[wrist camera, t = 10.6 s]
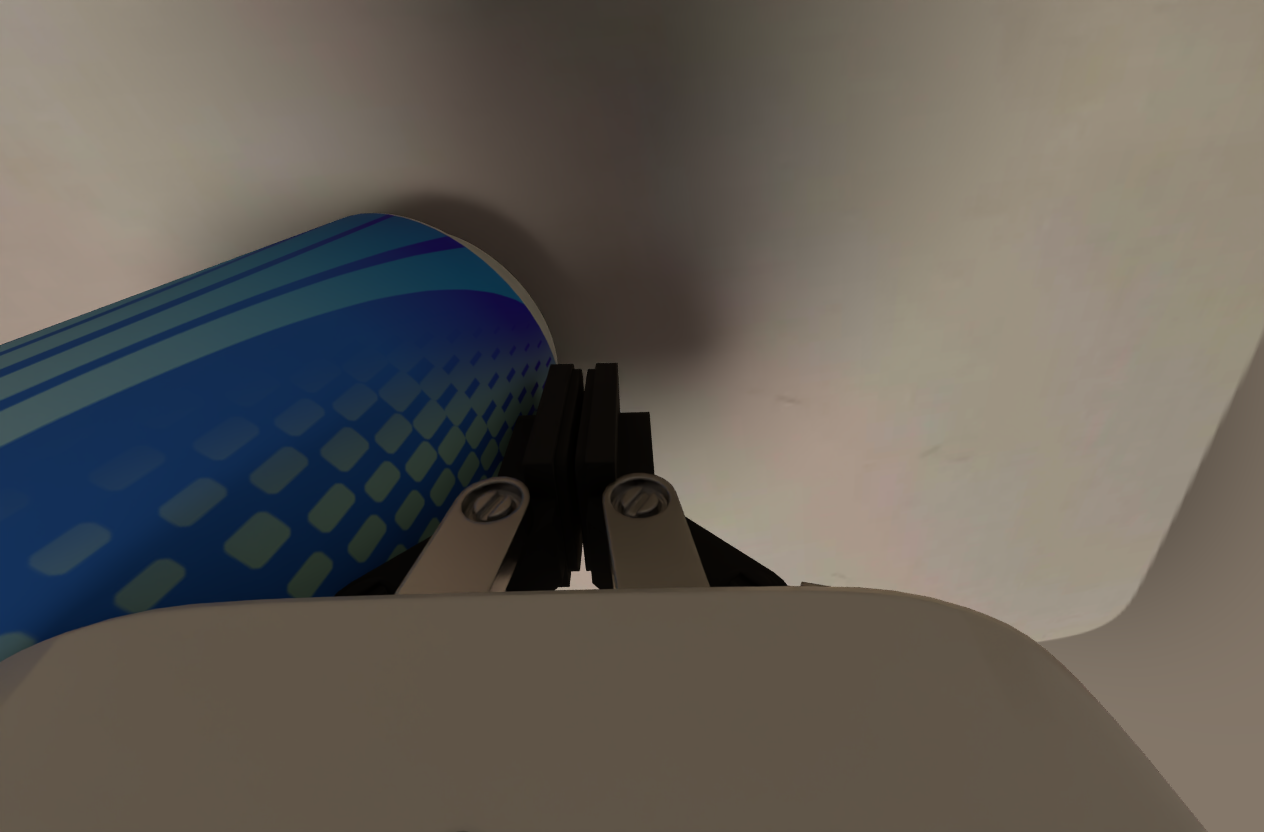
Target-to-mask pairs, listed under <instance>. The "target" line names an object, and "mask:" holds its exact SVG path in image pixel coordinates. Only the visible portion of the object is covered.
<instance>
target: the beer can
mask: <svg viewBox="0 0 1264 832" xmlns="http://www.w3.org/2000/svg"><path fill="white" fill-rule="evenodd" d="M551 364H558V362H557V355H556V350H555V346H554V343H553V339H552V336H551V333H550V331H549V329H548V326H547V324H546V322H545V320H544V318H543V316H542V314H541V312H540V310H539V309H538V307H537V306H536V304H535V302H534V301H533V299H532V298H531V297H530V295H529V294H528V293H527V291H526V290H525V289H524V288H523V286H522V285H521V284H520V283H519V282H518V280H517V279H516V278H515V277H514V276H513V275H512V274H511V273H510V272H509V271H508V270H506V269H505V268H504V267H503V266H502V265H501V264H500V263H499V262H497V261H496V260H495V259H493V258H492V257H491V256H489V255H488V254H486V253H485V252H483V251H482V250H480V249H479V248H477V247H475V246H474V245H472V244H470V243H468V242H466V241H464V240H462V239H459V238H457V237H455V236H452V235H449V234H447V233H445V232H443V231H441V230H439V229H437V228H435V227H432V226H430V225H428V224H425V223H423V222H420V221H417V220H414V219H411V218H407V217H403V216H398V215H394V214H385V213H363V214H357V215H351V216H347V217H345V218H342V219H339V220H336V221H334V222H331V223H328V224H325V225H323V226H320V227H317V228H315V229H312V230H309V231H307V232H304V233H301V234H299V235H296V236H293V237H290V238H288V239H285V240H282V241H280V242H277V243H274V244H272V245H269V246H266V247H264V248H261V249H258V250H255V251H253V252H250V253H247V254H245V255H242V256H239V257H237V258H234V259H231V260H229V261H226V262H223V263H220V264H218V265H215V266H212V267H210V268H207V269H204V270H202V271H199V272H196V273H194V274H191V275H188V276H185V277H183V278H180V279H177V280H175V281H172V282H169V283H167V284H164V285H161V286H158V287H156V288H153V289H150V290H148V291H145V292H142V293H140V294H137V295H134V296H132V297H129V298H126V299H123V300H121V301H118V302H115V303H113V304H110V305H107V306H105V307H102V308H99V309H97V310H94V311H91V312H88V313H86V314H83V315H80V316H78V317H75V318H72V319H70V320H67V321H64V322H62V323H59V324H56V325H53V326H51V327H48V328H45V329H43V330H40V331H37V332H35V333H32V334H29V335H26V336H24V337H21V338H18V339H16V340H13V341H10V342H8V343H5V344H2V345H0V662H1V661H3V660H5V659H6V658H8V657H10V656H12V655H14V654H16V653H18V652H19V651H21V650H24V649H26V648H28V647H30V646H33V645H35V644H37V643H40V642H42V641H44V640H47V639H50V638H52V637H55V636H57V635H60V634H63V633H65V632H68V631H71V630H75V629H78V628H81V627H85V626H88V625H91V624H94V623H98V622H101V621H104V620H107V619H111V618H115V617H120V616H124V615H129V614H134V613H138V612H143V611H148V610H152V609H159V608H166V607H174V606H181V605H189V604H200V603H215V602H230V601H245V600H260V599H283V598H310V597H333V596H334V595H335V594H336V593H337V592H338V591H340V590H341V589H342V588H344V587H345V586H347V585H348V584H349V583H351V582H353V581H354V580H356V579H358V578H359V577H361V576H363V575H365V574H366V573H368V572H370V571H371V570H373V569H375V568H377V567H378V566H380V565H382V564H384V563H385V562H387V561H389V560H390V559H392V558H394V557H396V556H397V555H399V554H401V553H402V552H404V551H406V550H408V549H409V548H411V547H413V546H414V545H416V544H418V543H420V542H421V541H423V540H425V539H427V538H428V537H430V536H432V535H433V533H434V532H435V530H436V529H437V527H438V526H439V524H440V523H441V521H442V519H443V518H444V516H445V515H446V513H447V512H448V510H449V509H450V507H451V505H452V504H453V502H454V501H455V499H456V498H457V497H458V495H459V494H460V493H461V492H462V491H463V490H464V489H466V488H467V487H468V486H470V485H471V484H473V483H475V482H478V481H480V480H482V479H486V478H491V477H497V475H498V472H499V470H500V467H501V464H502V461H503V458H504V455H505V452H506V449H507V446H508V444H509V441H510V438H511V435H512V432H513V429H514V426H515V423H516V420H517V418H518V416H520V415H536V413H537V409H538V406H539V402H540V399H541V396H542V392H543V389H544V385H545V382H546V378H547V375H548V371H549V368H550V365H551Z"/></svg>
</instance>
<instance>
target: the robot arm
mask: <svg viewBox="0 0 1264 832" xmlns="http://www.w3.org/2000/svg"><path fill="white" fill-rule="evenodd" d="M582 545H583V548H584V557H585V565H586V571H591V574H592V583H593V584H594V585H595V586H596V587H598V588H599V589H593V590H555V589H557V588H558V587H570V578H571V571H580V565H581V555H582ZM0 832H1207V831H1206V829H1205V828H1204V827H1203V825H1202V824H1201V823H1200V822H1199V821H1198V819H1197V818H1196V817H1195V816H1194V814H1193V813H1192V812H1191V811H1190V810H1189V808H1188V807H1187V806H1186V805H1185V803H1184V802H1183V801H1182V800H1181V799H1180V797H1179V796H1178V795H1177V794H1176V792H1175V791H1174V790H1173V789H1172V787H1171V786H1170V785H1169V784H1168V783H1167V781H1166V780H1165V779H1164V777H1163V776H1162V775H1161V774H1160V773H1159V771H1158V770H1157V769H1156V768H1155V766H1154V765H1153V764H1152V763H1151V761H1150V760H1149V759H1148V758H1147V757H1146V756H1145V754H1144V753H1143V752H1142V751H1141V749H1140V748H1139V747H1138V746H1137V745H1136V744H1135V743H1134V741H1133V740H1132V739H1131V738H1130V737H1129V736H1128V734H1127V733H1126V732H1125V731H1124V730H1123V728H1122V727H1121V726H1120V725H1119V724H1118V723H1117V721H1116V720H1114V718H1113V717H1112V716H1111V715H1110V714H1109V713H1108V711H1107V710H1106V709H1105V708H1104V707H1103V706H1102V705H1101V704H1100V703H1099V702H1098V701H1097V699H1096V698H1095V697H1094V696H1093V695H1092V694H1091V693H1090V692H1089V691H1088V690H1087V689H1086V687H1085V686H1084V685H1083V684H1082V683H1081V682H1080V681H1079V680H1078V679H1077V678H1076V677H1075V676H1074V675H1073V674H1072V673H1071V672H1070V671H1069V670H1068V669H1067V668H1066V667H1065V666H1064V665H1063V664H1062V663H1061V662H1059V661H1058V660H1057V659H1056V658H1055V657H1054V656H1053V655H1051V654H1050V653H1049V652H1048V651H1047V650H1046V649H1045V648H1043V647H1042V646H1041V645H1039V644H1038V643H1037V642H1035V641H1034V640H1033V639H1031V638H1030V637H1029V636H1027V635H1025V634H1024V633H1022V632H1020V631H1019V630H1017V629H1015V628H1014V627H1012V626H1010V625H1009V624H1006V623H1004V622H1002V621H1000V620H997V619H995V618H993V617H991V616H988V615H986V614H983V613H980V612H978V611H975V610H972V609H970V608H967V607H963V606H960V605H956V604H953V603H949V602H945V601H942V600H938V599H935V598H931V597H926V596H921V595H915V594H910V593H904V592H899V591H892V590H882V589H872V588H861V587H831V586H825V585H819V584H813V583H807V582H801V586H787V584H786V583H785V582H784V580H782V579H781V578H780V577H779V576H778V575H776V574H775V573H774V572H773V571H771V570H769V569H768V568H766V567H765V566H763V565H761V564H760V563H758V562H757V561H755V560H753V559H752V558H750V557H749V556H747V555H745V554H744V553H742V552H741V551H739V550H738V549H736V548H734V547H733V546H731V545H730V544H728V543H726V542H725V541H723V540H722V539H720V538H718V537H717V536H715V535H714V534H712V533H710V532H709V531H707V530H706V529H704V528H703V527H701V526H699V525H698V524H696V523H695V522H693V521H691V520H690V519H688V518H687V517H685V515H684V512H683V510H682V507H681V504H680V501H679V498H678V496H677V493H676V491H675V489H674V488H673V486H672V485H671V484H670V483H669V482H668V481H666V480H665V479H663V478H661V477H659V476H657V475H654V463H653V450H652V438H651V425H650V413H649V412H631V413H620V399H619V376H618V363H596V367H595V369H588V370H587V377H586V384H585V391H584V384H583V373H582V369H574V365H573V364H551V365H550V368H549V371H548V375H547V378H546V382H545V385H544V389H543V392H542V396H541V399H540V402H539V406H538V409H537V413H536V415H520V416H518V418H517V420H516V423H515V426H514V429H513V432H512V435H511V438H510V441H509V444H508V446H507V449H506V452H505V455H504V458H503V461H502V464H501V467H500V470H499V472H498V475H497V477H491V478H486V479H482V480H480V481H478V482H475V483H473V484H471V485H470V486H468V487H467V488H466V489H464V490H463V491H462V492H461V493H460V494H459V495H458V497H457V498H456V499H455V501H454V502H453V504H452V505H451V507H450V509H449V510H448V512H447V513H446V515H445V516H444V518H443V519H442V521H441V523H440V524H439V526H438V527H437V529H436V530H435V532H434V533H433V535H432V536H430V537H428V538H427V539H425V540H423V541H421V542H420V543H418V544H416V545H414V546H413V547H411V548H409V549H408V550H406V551H404V552H402V553H401V554H399V555H397V556H396V557H394V558H392V559H390V560H389V561H387V562H385V563H384V564H382V565H380V566H378V567H377V568H375V569H373V570H371V571H370V572H368V573H366V574H365V575H363V576H361V577H359V578H358V579H356V580H354V581H353V582H351V583H349V584H348V585H347V586H345V587H344V588H342V589H341V590H340V591H338V592H337V593H336V594H335V595H334V596H333V597H310V598H283V599H260V600H245V601H230V602H215V603H200V604H189V605H181V606H174V607H166V608H159V609H152V610H148V611H143V612H138V613H134V614H129V615H124V616H120V617H115V618H111V619H107V620H104V621H101V622H98V623H94V624H91V625H88V626H85V627H81V628H78V629H75V630H71V631H68V632H65V633H63V634H60V635H57V636H55V637H52V638H50V639H47V640H44V641H42V642H40V643H37V644H35V645H33V646H30V647H28V648H26V649H24V650H21V651H19V652H18V653H16V654H14V655H12V656H10V657H8V658H6V659H5V660H3V661H1V662H0Z"/></svg>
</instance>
